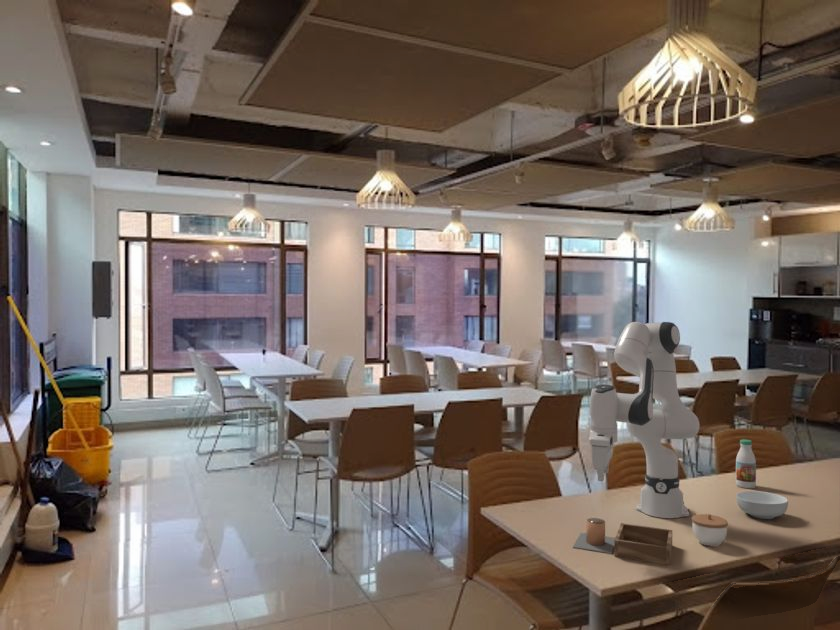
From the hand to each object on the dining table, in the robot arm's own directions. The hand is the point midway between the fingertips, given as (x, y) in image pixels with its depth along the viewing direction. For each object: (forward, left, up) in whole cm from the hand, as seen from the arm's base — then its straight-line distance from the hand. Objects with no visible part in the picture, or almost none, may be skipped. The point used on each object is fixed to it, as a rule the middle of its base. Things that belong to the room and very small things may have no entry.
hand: (603, 476), depth 205 cm
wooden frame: (+2, +13, -22) cm, 25 cm away
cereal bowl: (-52, +50, -22) cm, 75 cm away
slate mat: (+2, -2, -22) cm, 22 cm away
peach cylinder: (+2, -2, -21) cm, 21 cm away
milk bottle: (-93, +47, -22) cm, 106 cm away
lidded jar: (-14, +32, -22) cm, 41 cm away
